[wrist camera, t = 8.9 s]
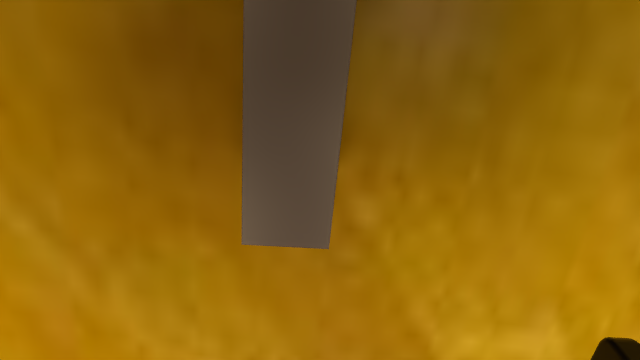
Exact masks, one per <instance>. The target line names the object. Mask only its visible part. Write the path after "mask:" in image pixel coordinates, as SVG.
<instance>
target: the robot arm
mask: <svg viewBox="0 0 640 360" xmlns="http://www.w3.org/2000/svg"><path fill="white" fill-rule="evenodd" d="M591 360H640V344H639V343H638V342H637V341H635V340H633V339H629V338H613V337H607V338H604V339H603V340H601V341H600V343H599V344H598V346H597V348H596V350H595V352H594V354H593V356H592V358H591Z"/></svg>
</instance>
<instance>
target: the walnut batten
mask: <svg viewBox="0 0 640 360" xmlns="http://www.w3.org/2000/svg"><path fill="white" fill-rule="evenodd" d="M356 2H357V0H244V34H243V162H242V244H244V245H263V246H282V247H302V248H321V249H329V242H330V233H331V224H332V215H333V206H334V197H335V189H336V180H337V171H338V162H339V153H340V144H341V135H342V126H343V117H344V108H345V100H346V91H347V82H348V73H349V64H350V55H351V46H352V37H353V28H354V19H355V11H356Z"/></svg>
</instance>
